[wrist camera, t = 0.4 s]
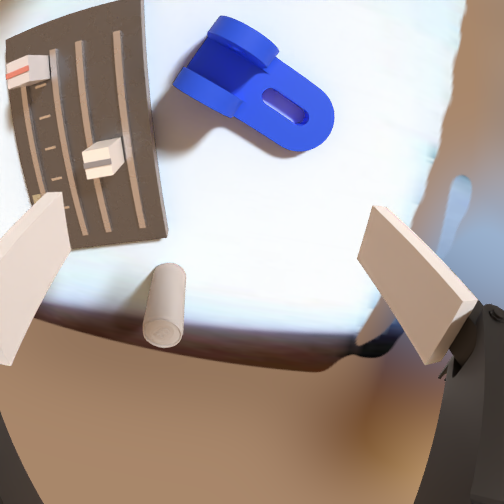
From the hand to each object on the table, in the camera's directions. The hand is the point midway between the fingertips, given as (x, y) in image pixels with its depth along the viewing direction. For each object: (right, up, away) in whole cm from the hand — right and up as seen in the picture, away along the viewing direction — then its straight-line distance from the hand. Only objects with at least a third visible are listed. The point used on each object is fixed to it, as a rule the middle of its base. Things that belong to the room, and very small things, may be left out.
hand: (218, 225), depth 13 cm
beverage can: (-10, -4, +33) cm, 34 cm away
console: (-19, +14, +20) cm, 31 cm away
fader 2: (-15, +10, +20) cm, 27 cm away
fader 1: (-23, +20, +13) cm, 33 cm away
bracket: (+3, +17, +22) cm, 28 cm away
